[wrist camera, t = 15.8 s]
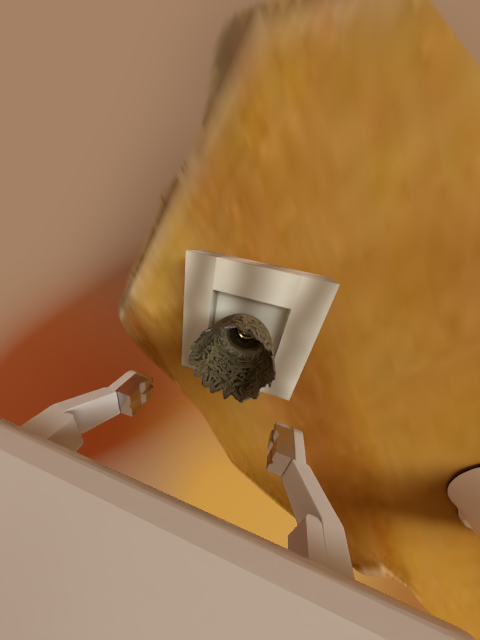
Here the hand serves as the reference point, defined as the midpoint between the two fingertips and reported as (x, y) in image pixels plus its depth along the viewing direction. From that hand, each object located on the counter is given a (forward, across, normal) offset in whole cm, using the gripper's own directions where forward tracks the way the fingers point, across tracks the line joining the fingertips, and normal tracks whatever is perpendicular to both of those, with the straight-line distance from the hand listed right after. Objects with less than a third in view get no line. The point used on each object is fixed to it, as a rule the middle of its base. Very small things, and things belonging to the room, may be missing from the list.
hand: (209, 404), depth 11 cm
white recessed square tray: (+15, 0, 0) cm, 15 cm away
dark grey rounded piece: (+12, 0, 0) cm, 12 cm away
